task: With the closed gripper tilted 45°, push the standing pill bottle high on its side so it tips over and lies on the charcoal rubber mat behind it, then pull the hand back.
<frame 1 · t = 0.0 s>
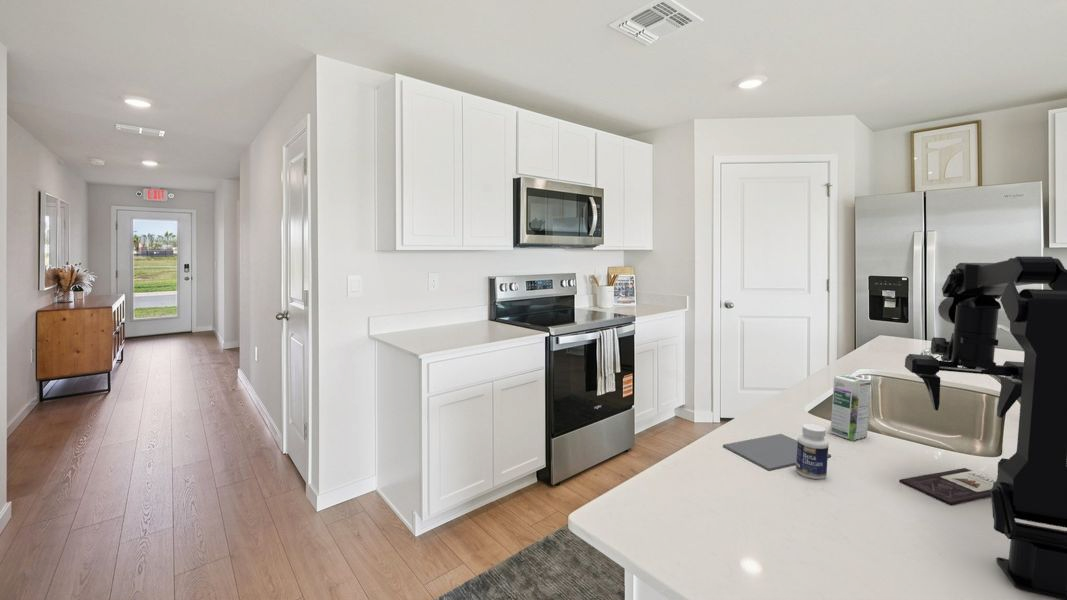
hand: (967, 413, 89), 15 cm above the counter, fingers open, 9 cm apart
syrup box: (848, 436, 116), on the counter
chocolate bar: (957, 489, 91), on the counter
pill bottle: (810, 474, 96), on the counter
mat: (775, 451, 107), on the counter
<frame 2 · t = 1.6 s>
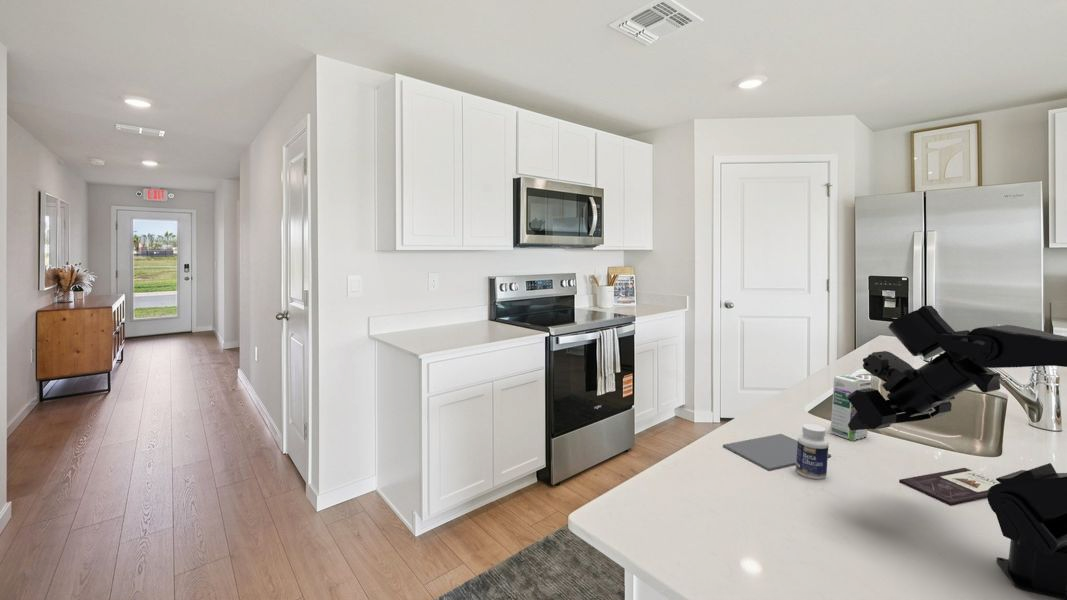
hand: (863, 425, 86), 14 cm above the counter, fingers open, 7 cm apart
nothing on the counter moved.
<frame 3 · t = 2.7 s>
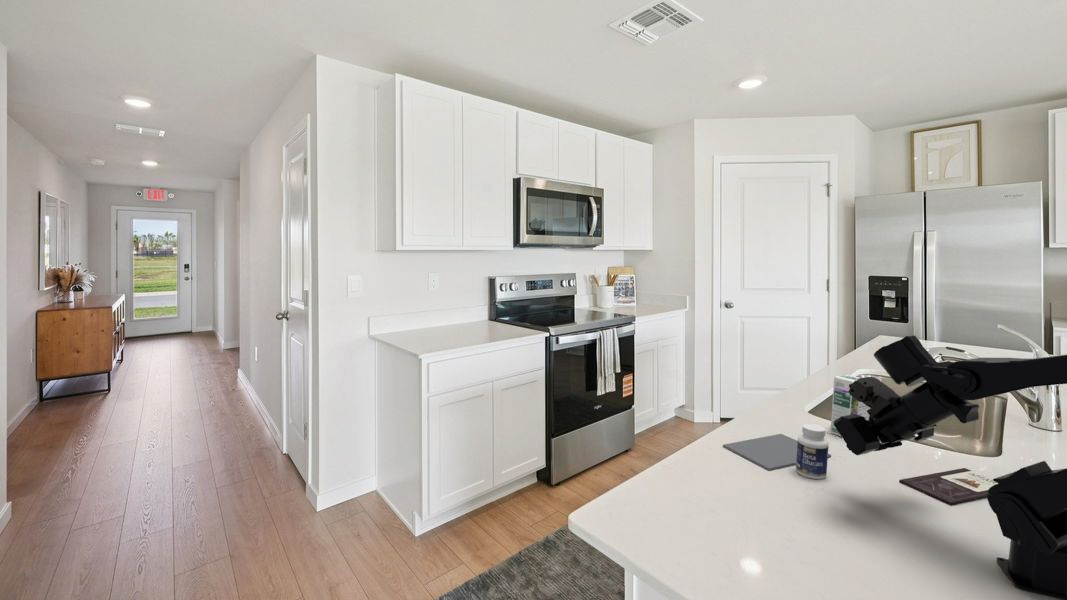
hand: (848, 447, 88), 8 cm above the counter, fingers closed
nothing on the counter moved.
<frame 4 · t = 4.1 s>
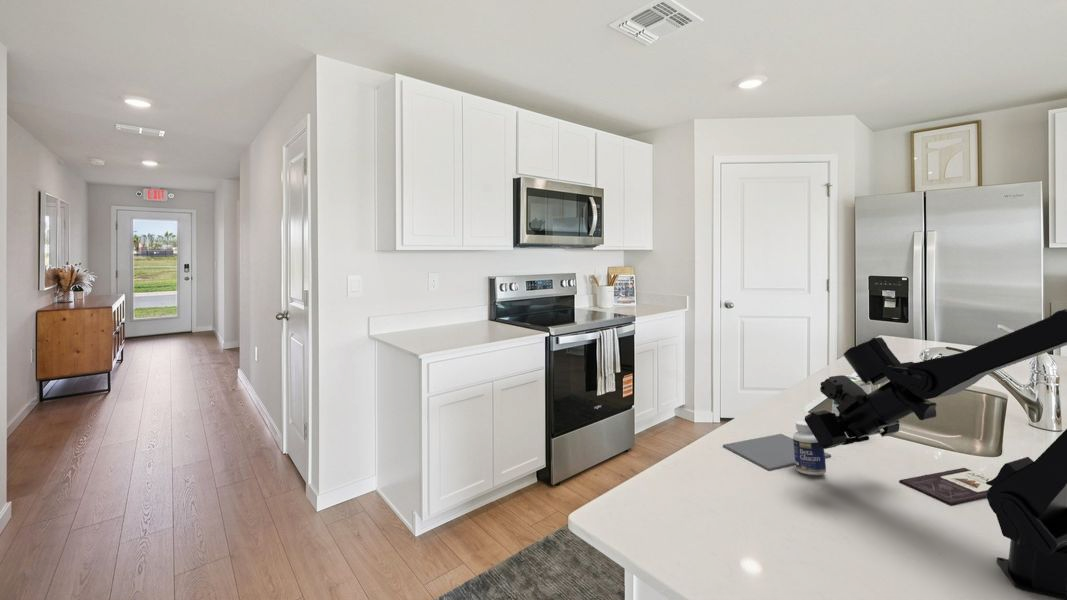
hand: (820, 441, 94), 7 cm above the counter, fingers closed, pressing on pill bottle
pill bottle: (811, 472, 96), on the counter, touching gripper
everything else where it was.
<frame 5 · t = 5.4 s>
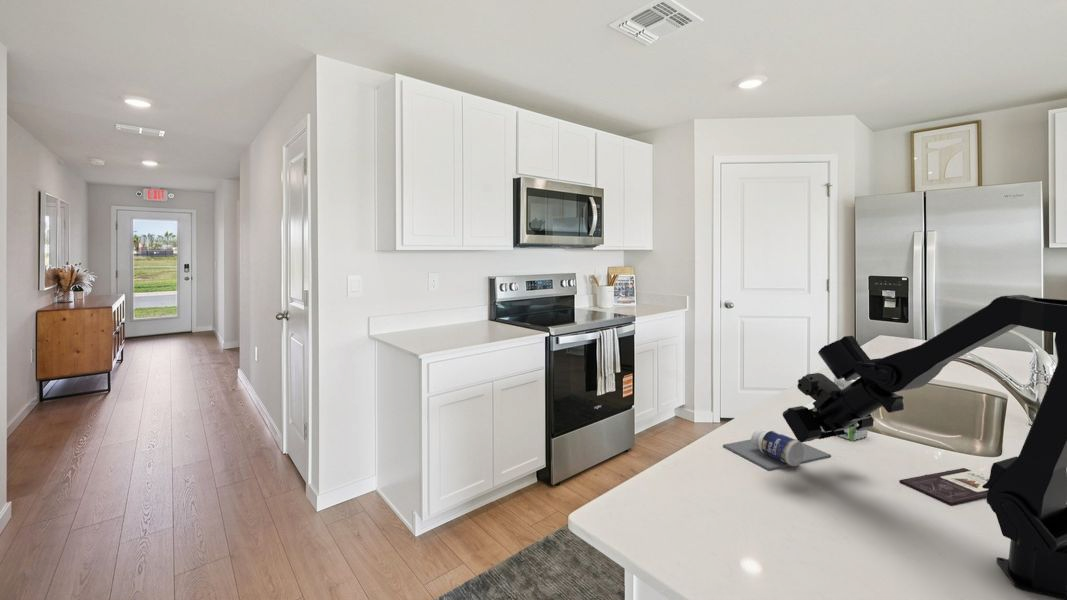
hand: (800, 437, 98), 7 cm above the counter, fingers closed
pill bottle: (798, 454, 98), point 3 cm above the counter, touching mat
everything else where it was.
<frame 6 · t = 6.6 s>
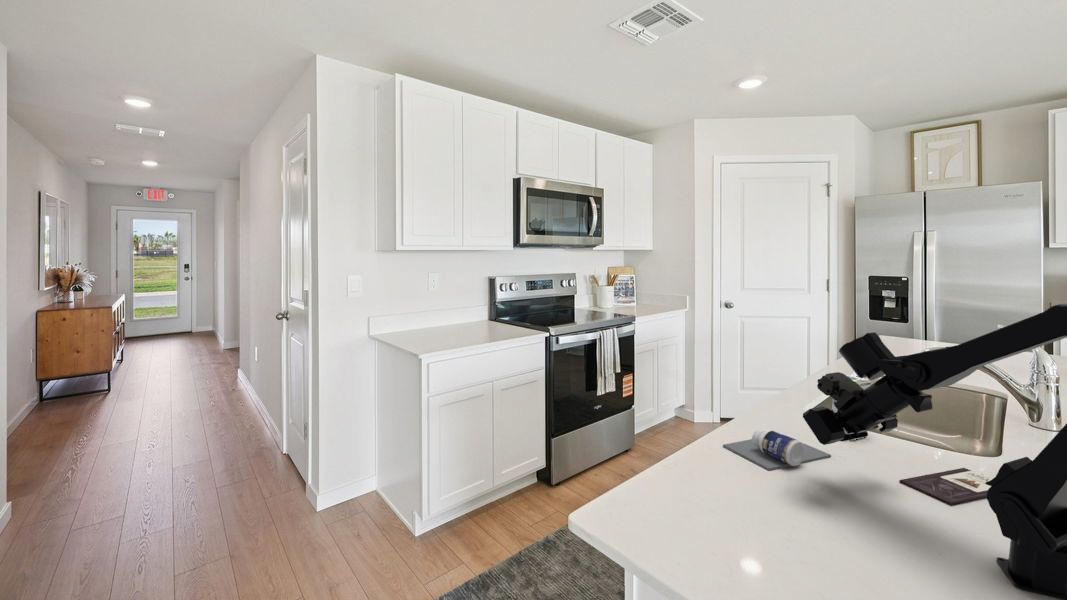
hand: (820, 439, 94), 8 cm above the counter, fingers closed
nothing on the counter moved.
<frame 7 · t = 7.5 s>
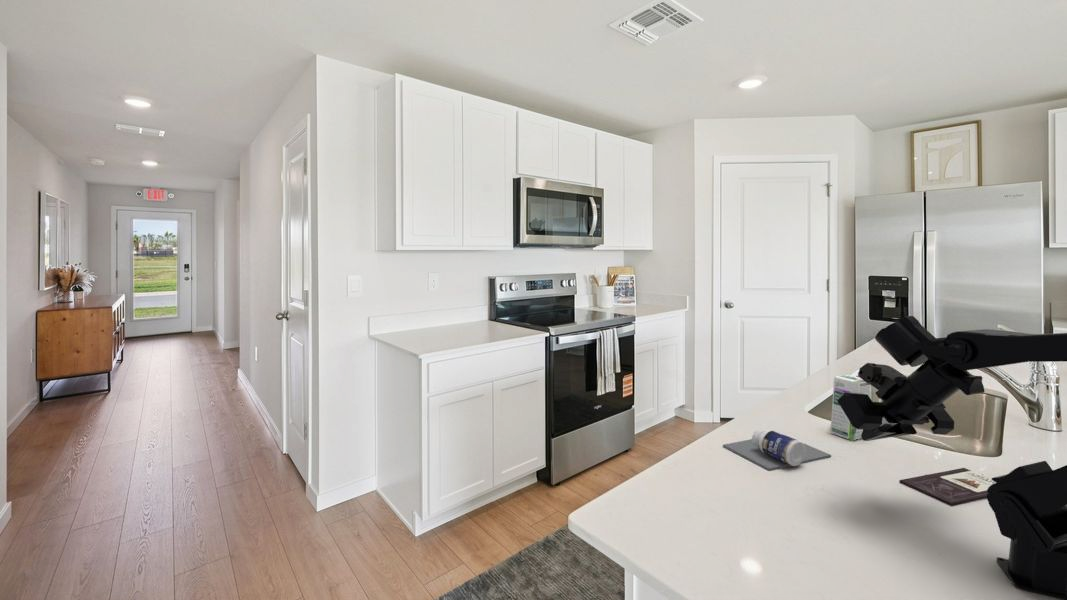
hand: (864, 438, 87), 11 cm above the counter, fingers closed
nothing on the counter moved.
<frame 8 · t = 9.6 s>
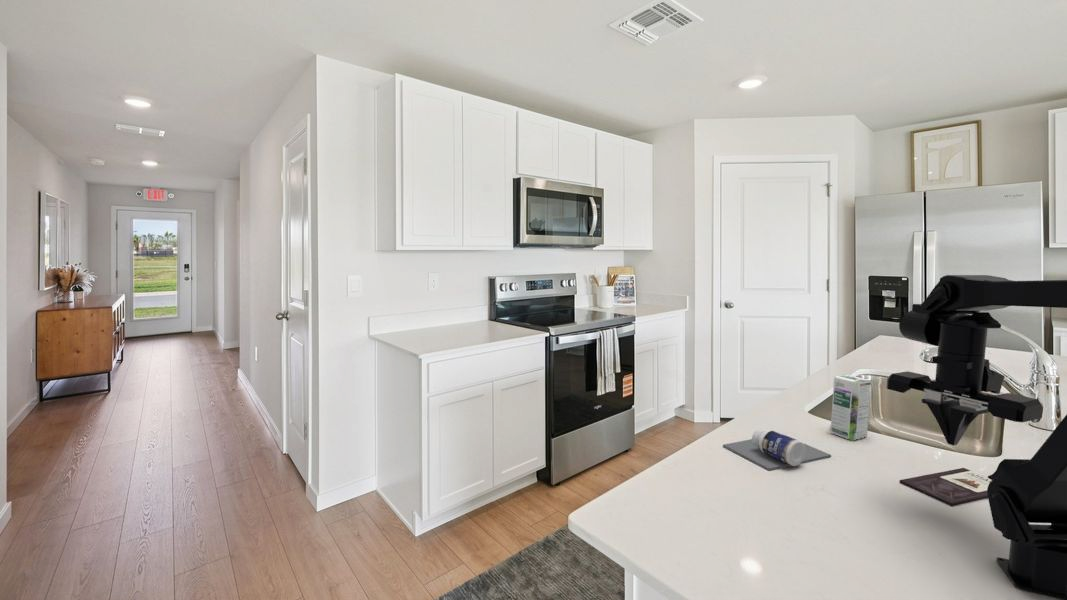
hand: (952, 444, 79), 13 cm above the counter, fingers closed
nothing on the counter moved.
at the end: pill bottle tilted 91°; pill bottle touching mat; the gripper is holding nothing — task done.
